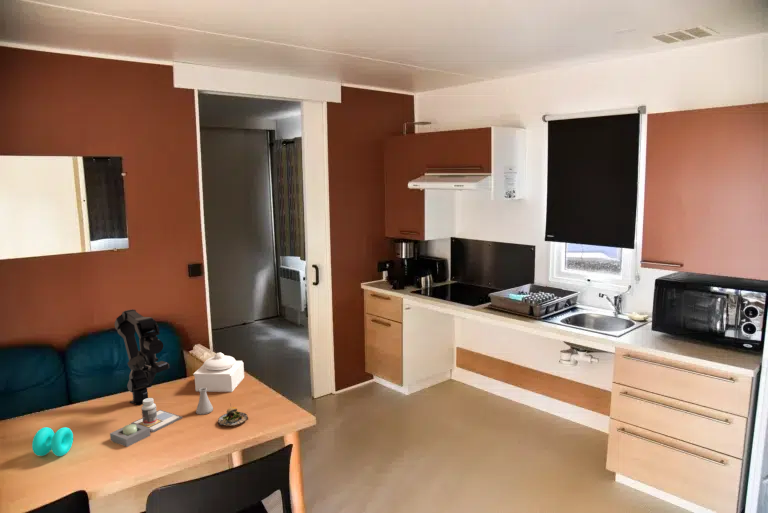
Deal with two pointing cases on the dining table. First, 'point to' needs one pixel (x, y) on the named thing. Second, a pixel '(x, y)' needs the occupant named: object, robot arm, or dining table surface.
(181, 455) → the dining table surface
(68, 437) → the donuts
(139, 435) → the button housing
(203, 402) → the flask
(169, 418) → the colouring board
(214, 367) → the butter dish
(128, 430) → the button
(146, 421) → the pill bottle
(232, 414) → the plate of food
